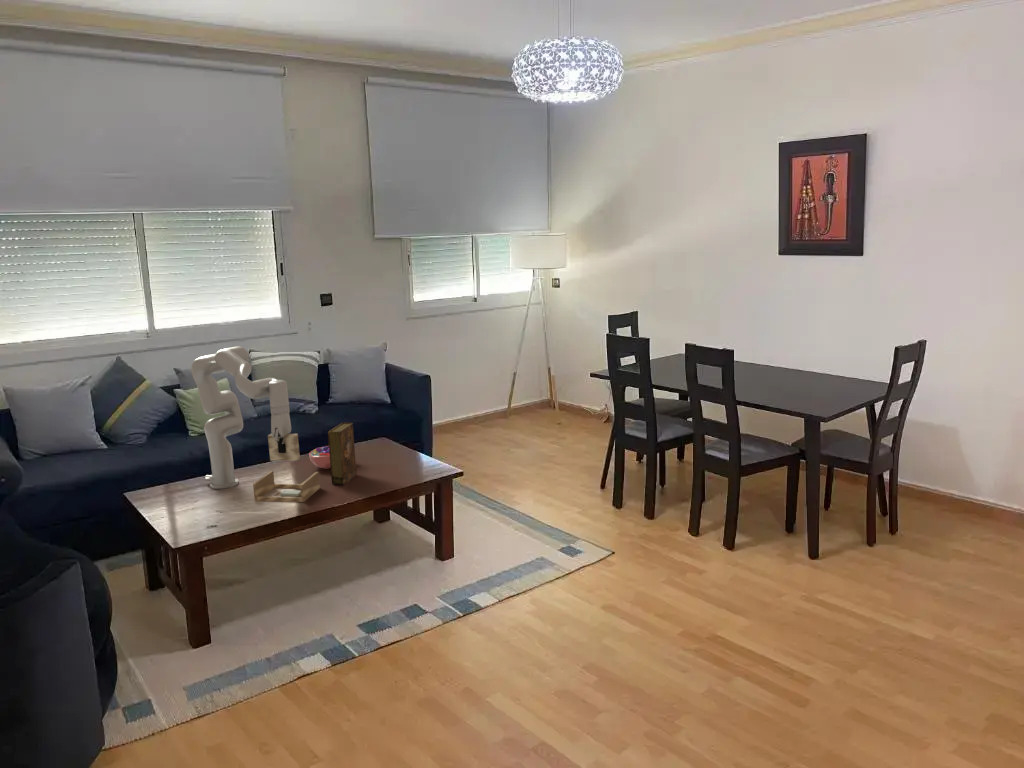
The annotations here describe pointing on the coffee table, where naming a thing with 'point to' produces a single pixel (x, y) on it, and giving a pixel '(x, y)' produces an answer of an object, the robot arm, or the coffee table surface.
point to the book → (342, 453)
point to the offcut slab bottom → (280, 495)
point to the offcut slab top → (290, 493)
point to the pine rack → (268, 484)
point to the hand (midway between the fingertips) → (284, 451)
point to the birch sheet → (291, 448)
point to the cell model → (321, 457)
